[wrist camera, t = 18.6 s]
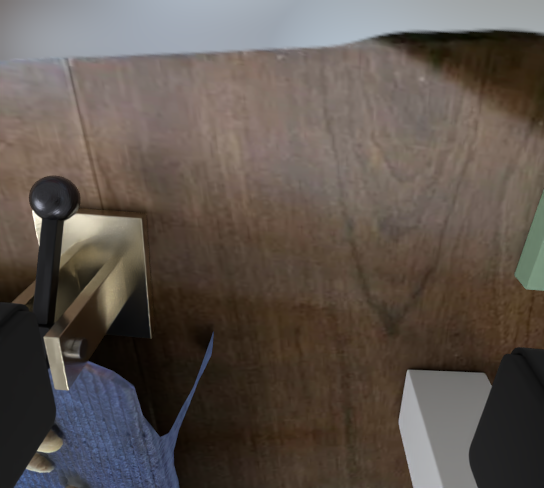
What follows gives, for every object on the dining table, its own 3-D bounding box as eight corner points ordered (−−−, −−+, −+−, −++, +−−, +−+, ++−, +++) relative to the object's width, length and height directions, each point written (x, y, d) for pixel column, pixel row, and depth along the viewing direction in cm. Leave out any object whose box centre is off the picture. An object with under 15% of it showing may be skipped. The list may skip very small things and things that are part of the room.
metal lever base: (39, 204, 37) (-68, 276, 26) (146, 212, 37) (81, 289, 26) (61, 322, 42) (-20, 422, 32) (155, 330, 42) (104, 434, 31)
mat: (237, 560, 61) (197, 663, 52) (76, 494, 70) (16, 574, 60) (210, 293, 39) (131, 391, 30) (-23, 244, 47) (-142, 308, 38)
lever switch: (47, 178, 33) (21, 169, 29) (90, 181, 32) (68, 173, 29) (29, 357, 32) (0, 368, 29) (72, 361, 32) (49, 373, 29)
